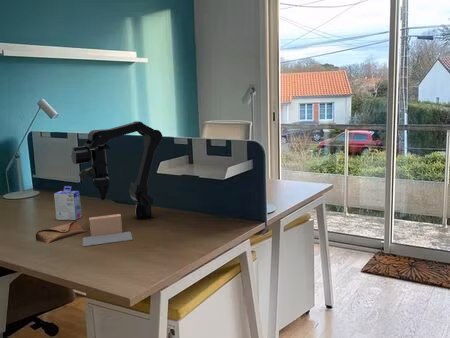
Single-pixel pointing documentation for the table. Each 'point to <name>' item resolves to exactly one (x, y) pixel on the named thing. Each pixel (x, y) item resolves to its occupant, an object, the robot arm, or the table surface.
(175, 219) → the table surface
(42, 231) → the sunglasses case
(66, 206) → the ink cartridge box
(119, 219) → the beige rectangular block
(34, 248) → the table surface
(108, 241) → the mat
